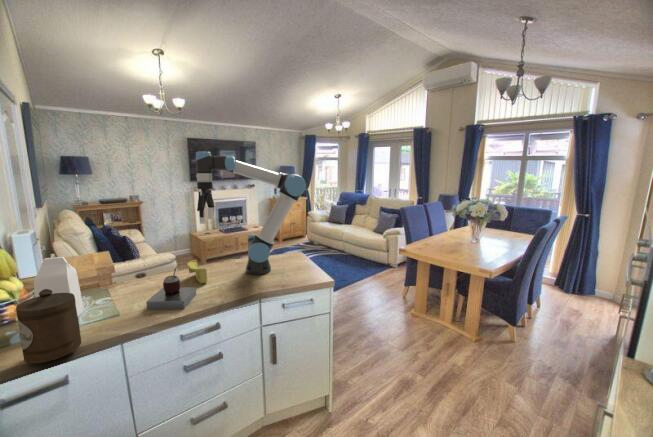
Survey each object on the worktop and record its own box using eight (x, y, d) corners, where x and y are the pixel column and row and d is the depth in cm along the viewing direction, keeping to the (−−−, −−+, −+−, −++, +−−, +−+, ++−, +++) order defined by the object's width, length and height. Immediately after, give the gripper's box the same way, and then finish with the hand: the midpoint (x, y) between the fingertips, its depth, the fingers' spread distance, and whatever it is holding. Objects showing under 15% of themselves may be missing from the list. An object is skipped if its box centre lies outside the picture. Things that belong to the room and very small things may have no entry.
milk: (37, 326, 120) (27, 263, 116) (49, 314, 130) (41, 255, 126) (74, 321, 125) (67, 260, 121) (83, 309, 135) (77, 252, 131)
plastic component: (207, 283, 166) (206, 266, 165) (192, 287, 162) (191, 269, 160) (198, 274, 182) (196, 258, 180) (184, 276, 178) (183, 260, 176)
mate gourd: (164, 291, 145) (162, 261, 143) (183, 289, 148) (181, 259, 146) (163, 297, 138) (160, 266, 136) (182, 295, 141) (180, 264, 139)
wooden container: (28, 347, 106) (19, 287, 102) (82, 334, 115) (75, 279, 111) (19, 370, 94) (8, 303, 91) (80, 353, 103) (72, 292, 99)
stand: (196, 294, 152) (195, 287, 151) (184, 309, 136) (183, 300, 136) (163, 295, 151) (162, 287, 150) (147, 310, 135) (146, 301, 134)
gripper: (204, 180, 171) (206, 217, 174) (188, 182, 147) (191, 225, 150) (218, 180, 172) (220, 217, 175) (204, 182, 147) (206, 225, 150)
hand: (206, 221), depth 162 cm, fingers open, 13 cm apart
